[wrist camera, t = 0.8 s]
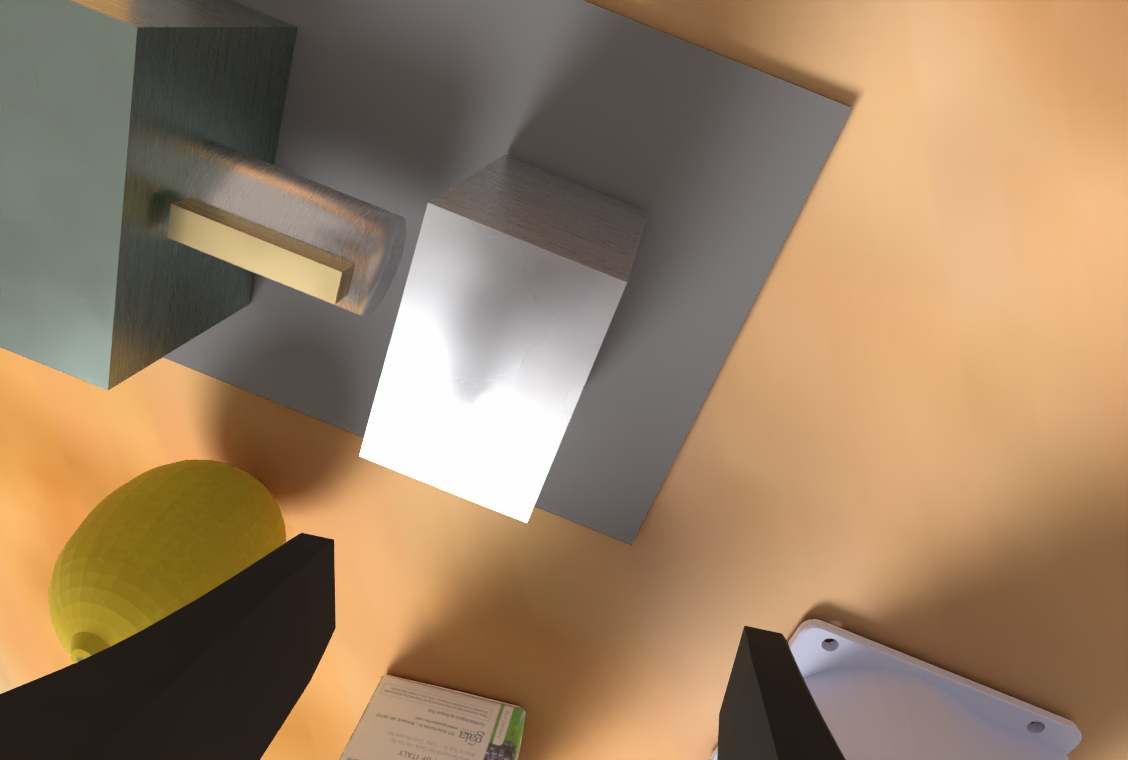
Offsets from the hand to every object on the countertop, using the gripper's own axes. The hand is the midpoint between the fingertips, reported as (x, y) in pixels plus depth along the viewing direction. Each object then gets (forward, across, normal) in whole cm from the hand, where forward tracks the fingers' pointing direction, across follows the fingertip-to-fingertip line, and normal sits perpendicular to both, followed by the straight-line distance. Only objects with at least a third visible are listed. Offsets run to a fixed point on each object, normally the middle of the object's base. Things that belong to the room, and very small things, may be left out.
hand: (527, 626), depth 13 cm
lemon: (+10, +11, +6) cm, 17 cm away
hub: (+10, +2, -3) cm, 11 cm away
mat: (+10, +6, -4) cm, 12 cm away
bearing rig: (+10, +10, -4) cm, 15 cm away
